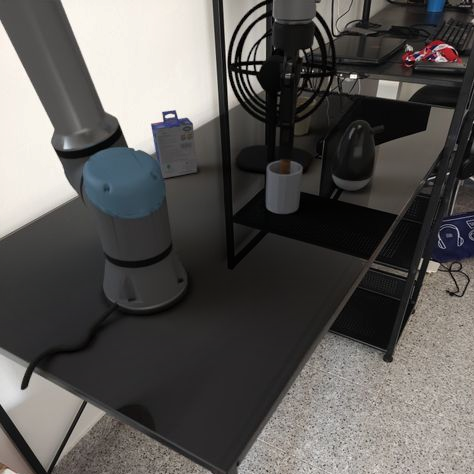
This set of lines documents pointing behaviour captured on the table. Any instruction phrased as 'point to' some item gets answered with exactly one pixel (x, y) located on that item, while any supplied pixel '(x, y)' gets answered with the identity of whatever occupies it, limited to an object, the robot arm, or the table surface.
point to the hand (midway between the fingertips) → (285, 155)
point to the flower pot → (304, 124)
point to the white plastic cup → (283, 188)
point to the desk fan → (274, 90)
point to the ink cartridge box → (174, 145)
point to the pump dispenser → (355, 156)
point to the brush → (286, 163)
